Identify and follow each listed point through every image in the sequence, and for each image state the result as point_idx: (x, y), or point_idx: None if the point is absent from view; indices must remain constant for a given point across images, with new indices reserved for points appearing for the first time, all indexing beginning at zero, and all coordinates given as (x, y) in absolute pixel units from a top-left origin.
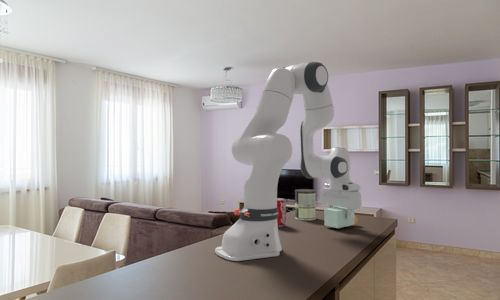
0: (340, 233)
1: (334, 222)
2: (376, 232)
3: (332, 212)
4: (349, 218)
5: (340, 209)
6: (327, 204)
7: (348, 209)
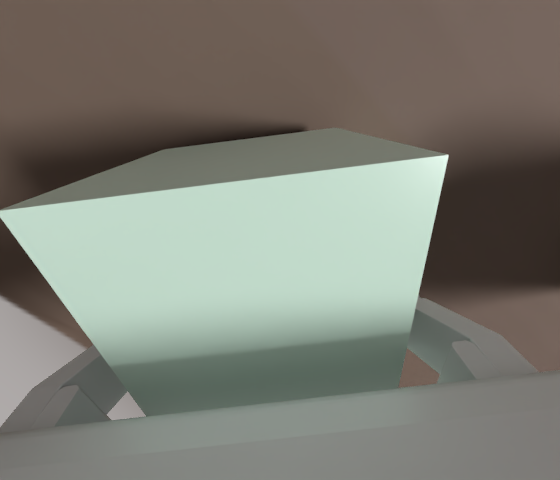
0: (72, 101)
1: (184, 153)
2: (80, 333)
3: (169, 179)
4: None
5: (184, 360)
6: (542, 374)
7: (33, 411)
